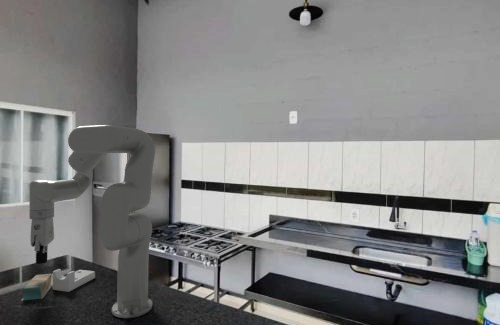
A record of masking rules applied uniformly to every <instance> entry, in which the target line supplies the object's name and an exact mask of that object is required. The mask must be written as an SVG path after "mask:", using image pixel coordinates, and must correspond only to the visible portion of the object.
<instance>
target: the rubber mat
mask: <svg viewBox="0 0 500 325" xmlns="http://www.w3.org/2000/svg"><path fill="white" fill-rule="evenodd" d="M51 288H53V276H51V285H50V286H49V288H48V289H47V290H46V292H45V293H44V294H43V296H42V297H41V298H40V299H41V300H42V299H44V298H45V296H46V295H47V293H48V292H49V291H50V290H51ZM40 299H39V300H40ZM31 300H33V299H31ZM20 301H24V300H23V298H21V300H20Z"/></svg>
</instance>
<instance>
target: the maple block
mask: <svg viewBox="0 0 500 325" xmlns="http://www.w3.org/2000/svg"><path fill="white" fill-rule="evenodd" d="M51 277H52V273H45V274H36V275H35V276H34V277H32V279H30V281H29V282H28V283H27V284H26V285H25V286H24V287H23V290H22V293H23V294H22V299H23V300H22V301H29V300H31V299H32V300H40V298H41V297H42V296H43V294H44V293H45V292H46V290H47V289H48V288H49V286H50V285H51ZM41 299H42V298H41Z"/></svg>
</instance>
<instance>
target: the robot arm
mask: <svg viewBox="0 0 500 325" xmlns="http://www.w3.org/2000/svg"><path fill="white" fill-rule="evenodd" d="M67 143H68V147H69V148H70V149H71V150H72V151H73V152H71V154H70V155H69V157H68V158H67V160H68V161H67V162H68V164H69V166H70V167H71V168H72V170H74V171H75V172H76V173H75V175H74V176H73V177H72V178H71V179H63V180H62V179H60V180H52V179H51V180H50V179H36V180H32V181H31V182H30V184H29V213H28V214H29V220H31V223H30V247H34V249H33V250H34V251H35V264H36V265H40V264H46V263H47V262H48V247H49V245H50V243H52V242H53V241H54V239H55V231H54V230H55V229H54V217H55V203H57V202H58V203H59V202H63V201H69V200H75V199H77V198H79V197H81V196H82V195H83V194H84V193H85V192H86V190H88V189H89V187H90V186H91V184H92V182H93V177H94V175H93V172H94V171H93V170H94V169H95V168H97V165H98V164H99V163H100V162H101V161H102V159H103V158H105V156H106V155H107V154H129V155H130V157H129V158H128V160H127V162H126V164H125V169H124V176H123V181H122V182H116V183H112V184H111V185H109V186H108V187H107V188H106V189H105V190H104V192H103V195H102V197H101V200H100V201H101V202H100V213H99V224H98V237H99V242H100V243H101V245H102V247H103V248H104V249H105V250H107V251H112V252H113V251H118V254H117V282H116V284H117V285H116V288H117V290H116V292H117V293H116V302H115V303H114V304H113V305H112V307H111V313H112V315H113V316H114V317H117V318H119V319H120V318H121V319H133V318H137V317H140V316H143V315H145V314H147V313H148V312H150V311H151V310H152V308H153V300H152V299H150V298H149V260H150V259H149V258H150V257H149V256H150V255H149V254H150V243H151V239H152V238H151V237H152V235H153V225H152V220H151V218H150V217H149V216H148V215H147V214H145V213H141V212H136V211H139V210H143V209H145V208H146V207H147V206H149V204H150V200H151V195H152V194H151V193H152V185H153V171H154V170H153V168H154V162H155V157H156V156H155V155H156V145H155V143H154V141H153V138H152V137H151V136H150V135H149V134H148V133H146V131H143V130H142V129H139V128H134V127H129V126H128V127H127V126H119V125H110V124H103V125H101V124H99V125H84V126H82V125H81V126H78V127H75V128H74V129H73V130H71V132H70V133H69V134H68V138H67ZM132 212H133V213H132Z"/></svg>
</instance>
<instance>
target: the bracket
mask: <svg viewBox="0 0 500 325" xmlns="http://www.w3.org/2000/svg"><path fill="white" fill-rule="evenodd" d="M52 277H53V285H52V290H54V291H60V292H61V291H62V292H67V293H69V292H71V291H73V290H75V289H76V288H79V287H80V286H83V285H85V284H87V283H89V282H90V281H92V280H93V279H95V278H96V271H93V270H88V269H87V270H86V269H85V270H84V269H78V270H76V271H75V270H71V271H69V272H67V273H66V276H65V274H63V273H62V268H61V269H60V268H57V269H55V270H53V271H52Z"/></svg>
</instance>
